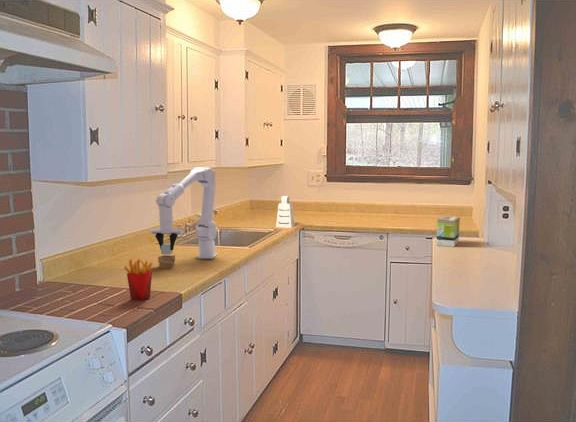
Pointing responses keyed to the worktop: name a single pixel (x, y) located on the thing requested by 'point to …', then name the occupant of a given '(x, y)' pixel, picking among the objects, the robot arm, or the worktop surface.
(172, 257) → the slab top
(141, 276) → the french fries
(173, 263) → the slab base
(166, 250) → the gray cube
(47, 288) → the worktop surface
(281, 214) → the grater
